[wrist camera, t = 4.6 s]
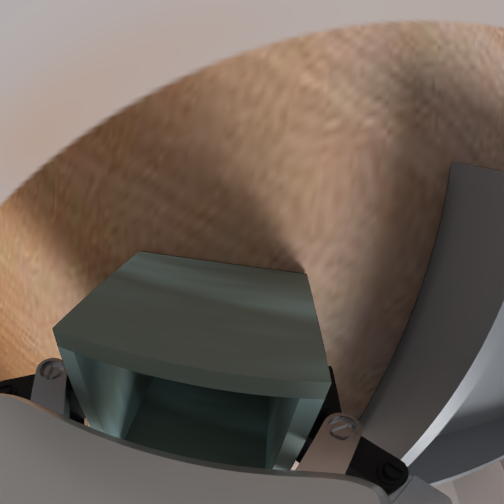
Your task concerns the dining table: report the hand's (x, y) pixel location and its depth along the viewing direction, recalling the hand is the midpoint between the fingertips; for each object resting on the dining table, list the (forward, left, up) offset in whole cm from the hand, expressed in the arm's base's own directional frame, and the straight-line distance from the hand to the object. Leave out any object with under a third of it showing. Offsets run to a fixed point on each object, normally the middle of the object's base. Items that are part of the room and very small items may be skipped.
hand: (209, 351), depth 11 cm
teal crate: (0, 0, -1) cm, 1 cm away
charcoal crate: (0, -19, -1) cm, 19 cm away
